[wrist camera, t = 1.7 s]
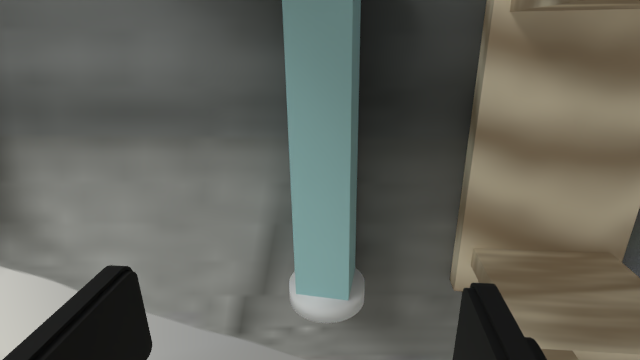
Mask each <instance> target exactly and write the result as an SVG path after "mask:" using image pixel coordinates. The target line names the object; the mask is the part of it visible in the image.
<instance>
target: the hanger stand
mask: <svg viewBox="0 0 640 360" xmlns="http://www.w3.org/2000/svg"><path fill="white" fill-rule="evenodd" d="M639 208H640V0H487V2H486V9H485V17H484V25H483V32H482V40H481V47H480V55H479V63H478V70H477V78H476V85H475V93H474V101H473V108H472V116H471V123H470V131H469V138H468V146H467V154H466V161H465V169H464V176H463V184H462V192H461V199H460V207H459V214H458V222H457V230H456V237H455V245H454V252H453V260H452V268H451V275H450V281H451V284H452V287H453V289H454V291H463V289H464V288H470V285H471V283H493V284H495V285H496V286H497V288H498V290H499V292H500V293H501V295H502V297H503V299H504V301H505V302H506V304H507V306H508V308H509V310H510V311H511V313H512V315H513V317H514V319H515V320H516V322H517V324H518V326H519V328H520V330H521V331H522V333H523V335H524V337H531V338H533V339H534V340H535V341H536V342H537V343H538V345H539V346H540V348H541V350H542V352H543V353H544V355H545V357H546V358H547V360H640V278H639V277H638V276H637V275H636V274H634V273H633V272H632V271H631V270H630V269H629V268H627V267H626V266H625V265H624V264H623V263H622V260H623V257H624V254H625V251H626V248H627V245H628V242H629V239H630V236H631V232H632V229H633V226H634V223H635V220H636V217H637V214H638V211H639Z"/></svg>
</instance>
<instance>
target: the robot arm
mask: <svg viewBox="0 0 640 360" xmlns="http://www.w3.org/2000/svg"><path fill="white" fill-rule="evenodd" d="M151 348H152V340H151V336H150V331H149V327H148V322H147V318H146V313H145V309H144V304H143V300H142V295H141V291H140V286H139V282H138V277H137V274H136V273H135V272H133V271H132V269H131V268H130V267H128V266H107V267H105V268H104V269H103V270H102V271H101V272H100V273H98V274H97V275H96V276H95V277H94V278H93V279H92V280H91V281H90V282H88V283H87V284H86V285H85V286H84V287H83V288H82V289H81V290H80V291H78V292H77V293H76V294H75V295H74V296H73V297H72V298H71V299H70V300H69V301H67V302H66V303H65V304H64V305H63V306H62V307H61V308H60V309H58V310H57V311H56V312H55V313H54V314H53V315H52V316H51V317H49V319H47V320H46V321H45V322H44V323H43V324H42V325H41V326H39V327H38V328H37V329H36V330H35V331H34V332H33V333H32V334H31V335H29V336H28V337H27V338H26V339H25V340H24V341H23V342H22V343H21V344H20V345H18V346H17V347H16V348H15V349H14V350H13V351H12V352H11V353H9V354H8V355H7V356H6V357H5V358H4V359H3V360H147V358H148V357H149V355H150V352H151ZM453 360H547V358H546V357H545V355H544V353H543V352H542V350H541V348H540V346H539V345H538V343H537V342H536V341H535V340H534V339H533V338H531V337H524V335H523V333H522V331H521V330H520V328H519V326H518V324H517V322H516V320H515V319H514V317H513V315H512V313H511V311H510V310H509V308H508V306H507V304H506V302H505V301H504V299H503V297H502V295H501V293H500V292H499V290H498V288H497V286H496V285H495V284H493V283H471V285H470V288H464V289H463V293H462V300H461V307H460V314H459V320H458V327H457V334H456V341H455V348H454V355H453Z"/></svg>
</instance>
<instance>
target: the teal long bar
mask: <svg viewBox="0 0 640 360" xmlns="http://www.w3.org/2000/svg"><path fill="white" fill-rule="evenodd" d="M282 10H283V31H284V52H285V73H286V94H287V115H288V136H289V157H290V178H291V199H292V221H293V242H294V263H295V271H294V273H293V274H292V275H291V277H290V280H289V289H290V303H291V306H292V308H293V309H294V310H295V311H296V312H297V313H298V314H299V315H300V316H302V317H303V318H305V319H308V320H310V321H314V322H319V323H336V322H341V321H344V320H347V319H349V318H351V317H353V316H354V315H355V314H357V313H358V312H359V311H360V309H361V308H362V306H363V304H364V294H365V280H364V277H363V275H362V273H361V272H360V271H359V270H358V269H356V268H355V249H356V202H357V156H358V109H359V63H360V16H361V0H282Z"/></svg>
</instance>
